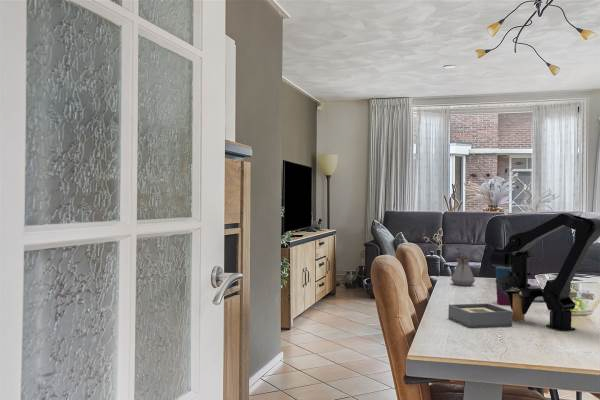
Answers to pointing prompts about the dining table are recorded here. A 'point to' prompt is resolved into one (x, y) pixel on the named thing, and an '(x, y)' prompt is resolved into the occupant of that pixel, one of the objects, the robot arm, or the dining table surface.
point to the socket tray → (480, 315)
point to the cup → (501, 296)
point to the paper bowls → (534, 284)
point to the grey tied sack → (463, 273)
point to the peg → (517, 308)
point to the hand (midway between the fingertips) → (518, 312)
